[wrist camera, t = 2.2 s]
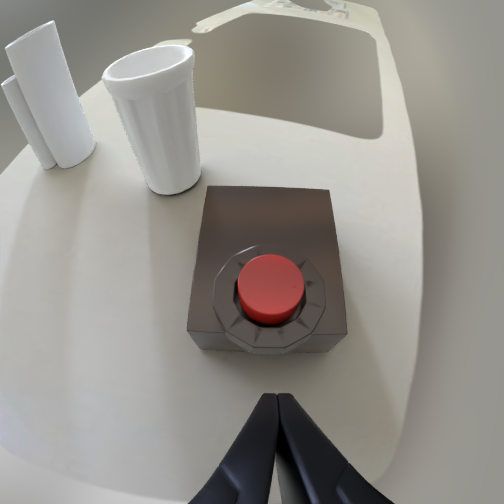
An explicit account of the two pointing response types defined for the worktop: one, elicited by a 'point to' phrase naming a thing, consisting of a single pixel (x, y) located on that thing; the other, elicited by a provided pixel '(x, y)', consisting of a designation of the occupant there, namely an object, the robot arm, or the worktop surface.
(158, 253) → the worktop surface
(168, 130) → the cup
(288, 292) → the led button
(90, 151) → the vase
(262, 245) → the switch block
